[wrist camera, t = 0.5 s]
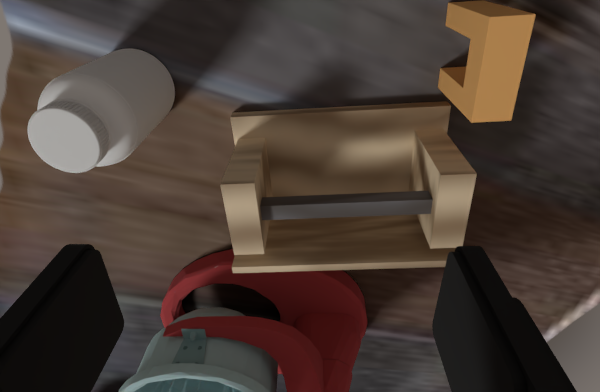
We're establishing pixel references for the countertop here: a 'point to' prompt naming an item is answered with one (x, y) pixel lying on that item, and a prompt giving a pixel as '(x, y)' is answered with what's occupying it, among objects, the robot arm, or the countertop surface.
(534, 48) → the countertop surface
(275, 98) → the countertop surface
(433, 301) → the countertop surface
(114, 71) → the pill bottle
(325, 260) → the wooden vise
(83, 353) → the robot arm
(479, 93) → the upright wooden block
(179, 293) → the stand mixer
